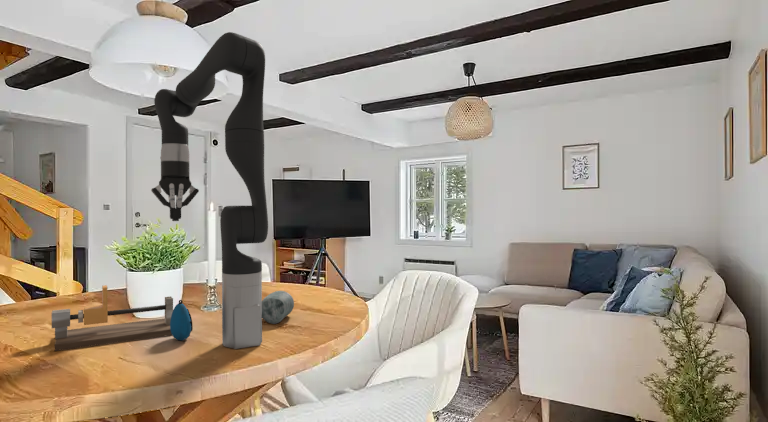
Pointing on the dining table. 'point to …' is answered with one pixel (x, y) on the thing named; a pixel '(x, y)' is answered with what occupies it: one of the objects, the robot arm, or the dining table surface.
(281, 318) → the grey textured cylinder
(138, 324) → the wooden bar clamp
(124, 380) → the dining table surface
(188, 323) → the ornament
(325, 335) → the dining table surface
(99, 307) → the l-shaped tan slider
